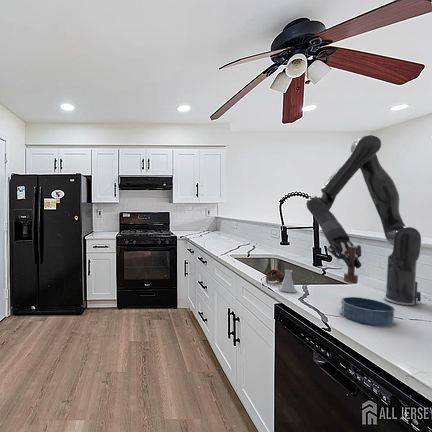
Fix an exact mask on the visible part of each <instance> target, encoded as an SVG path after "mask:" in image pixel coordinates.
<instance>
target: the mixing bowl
mask: <svg viewBox="0 0 432 432" xmlns="http://www.w3.org/2000/svg"><path fill="white" fill-rule="evenodd" d="M340 304H341V305H340V312H341V313H340V314H342V316H344V317H346V318H348V319H350V320H351V321H354V322H357V323H360V324H364V325H368V326H377V327H386V326H392V325H393V324H394V323H395V307H394V306H392V305H390V304H388V303H386V302H383V301H379V300H376V299H373V298H367V297H361V296H346V297H342V298H341V303H340Z"/></svg>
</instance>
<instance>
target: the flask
mask: <svg viewBox="0 0 432 432" xmlns="http://www.w3.org/2000/svg"><path fill="white" fill-rule="evenodd" d="M284 272H285V273H284V280H283V282H281V285H280V287H279V291H282V292H286V293H296V292H297V291H296V286H295V284H294V281H293V276H292V273H293V270H292V269H284Z"/></svg>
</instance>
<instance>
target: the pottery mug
mask: <svg viewBox="0 0 432 432" xmlns="http://www.w3.org/2000/svg"><path fill="white" fill-rule="evenodd" d="M270 275H271V276H270ZM284 277H285V274H284V273H283V272H282V271H280V270H279V269H275V268H274V269H269V270H268V271H267V272H266V273H265V282H266V283H268V282H275V281H278V282H279V283H280V282H281V283H282V282H283V280H284Z"/></svg>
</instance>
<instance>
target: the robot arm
mask: <svg viewBox="0 0 432 432" xmlns="http://www.w3.org/2000/svg"><path fill="white" fill-rule="evenodd" d="M381 148H382V141H381V138H380V137H378V136H377V135H373V134H367V135H364V136H361V137H359V138H358V139H356V140H354V141H353V142H352V144H351V145H350V152H351V153H350V155H349V157H348V158H347V159H346V161H344V163H342V165H341V166H340V167H339V168H338V169H336V170H335V172H334V173H333V174H331V175H330V177H329V178H328V179H327V181H326V182H325V183H324V184H323V186H322V187H321V189H320V192H321V197H320V196H317V195H313V196H310V197H308V198H307V200H306V205H305V206H306V208H307V210H308V211H309V213H310V214H311V215H312V217H314V219H315V220H316V221H317V224H318V226H319V227H320V229H321V232H322V234H323V235H324V237H325V239H326V240H327V242H328V244H329V246H328V247H327V248H326V250H327V251H328V252H329V253H330V254H331V255H333V256H334V257H335V258H336V259H337V260H342V261H344V263H345V265H346V266H347V268H348V267H349V268H353V267H354V264H353V262H352V261H351V259H350V258H348V257H349V256H348V253H349V246H353V247H356V251H355V269H360V268H361V267H362V263H361V261H360V259H359V258H360V257H362V246H361V245H360V244H358V245H355V244H354V243H353V242H351V240H350V236H349V235H348V233H347V231H346V230H345V228H344V227H343V225H342V224H341V223H340V222H339V220H338V219H337V217H336V216H335V214H334V213H333V212H331V209H332V207H333V205H334V202H335V201H336V198H337V196H338V195H339V193H340V192H341V191H342V190H343V189H344V188H345V187H346V185H347V184H348V183H349V182H350V180H351V179H352V178H353V177H354V175H355V174H356V173H357V172H358V171H359V170H360V172H361V174H362V177H363V180H364V182H365V186H366V188H367V191H368V193H369V196H370V198H371V200H372V203H373V205H374V207H375V210H376V212H377V214H378V217H379V219H380V223H381V225H382V229H383V233H384V237H385V239H386V241H387V242H388V243H389V244H391V245H392V246H393V247H392V252H391V253H390V254H388V255H387V265H386V266H387V267H386V283H385V284H386V286H385V298H384V299H385V300H386V301H387V302H389V303H392V304H396V305H402V306H415V305H417V302H421V300H422V298H421V296H422V295H421V291H418V281H416V277H417V263H418V262H417V261H418V260H419V258H420V255H421V247H422V236H421V233H420V231H419V230H418V229H416V228H415V227H412V226H407V225H406V224H405V222H404V220H403V218H402V215H401V214H400V213H401V212H400V194H399V191H398V188H397V185H396V183H395V182H394V180H393V178H392V177H391V176H390V175H389V173H388V172H387V171H386V170H385V168H383V166H382V165H381V163H380V160H379V158H378V156H377V153H379V151H380V150H381Z"/></svg>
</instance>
